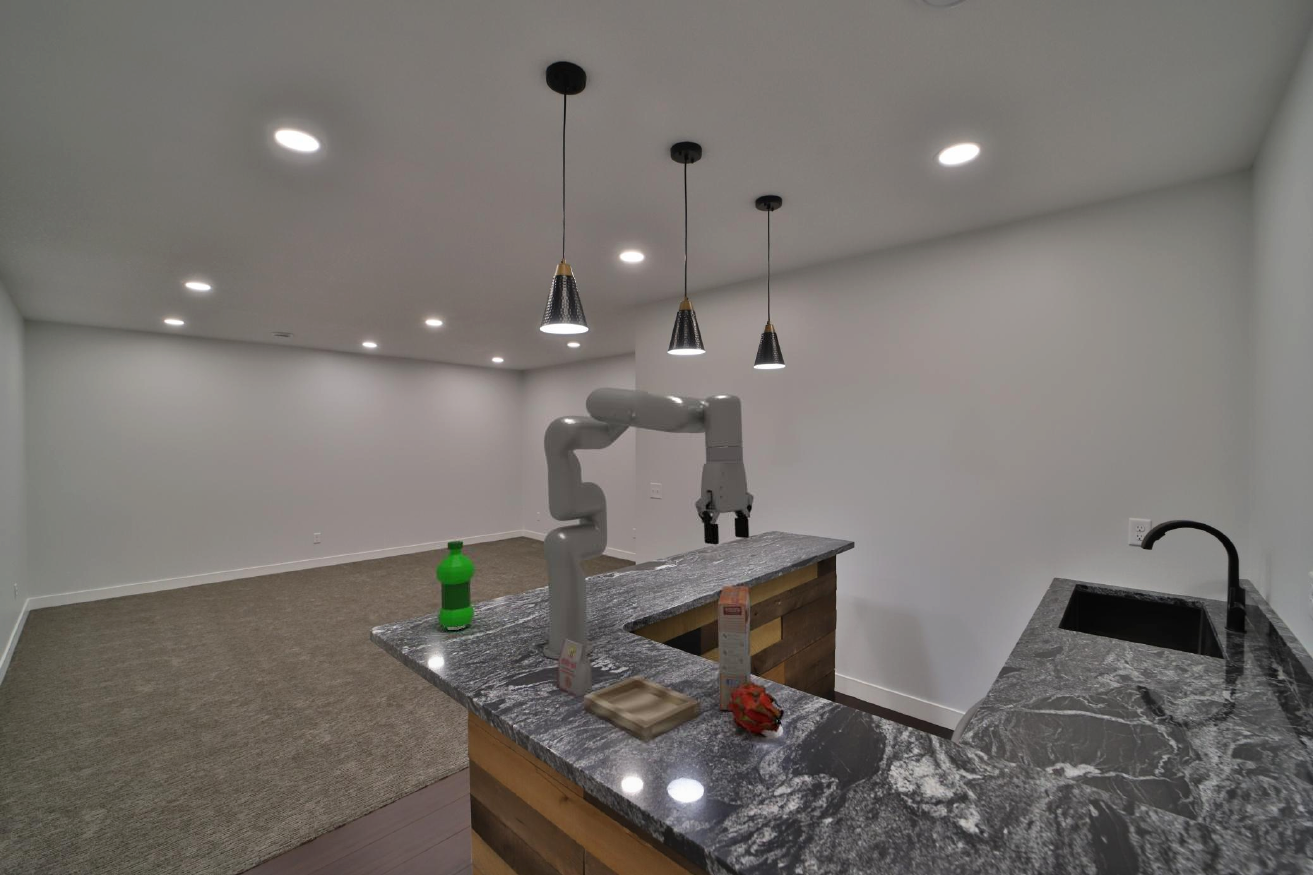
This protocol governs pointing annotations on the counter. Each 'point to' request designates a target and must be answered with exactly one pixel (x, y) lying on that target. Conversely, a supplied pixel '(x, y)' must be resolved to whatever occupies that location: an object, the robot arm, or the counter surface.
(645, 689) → the wooden tray
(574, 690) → the white cardboard box
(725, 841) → the counter surface
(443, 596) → the plastic bottle
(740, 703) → the dragon fruit
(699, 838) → the counter surface
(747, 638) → the cracker box
